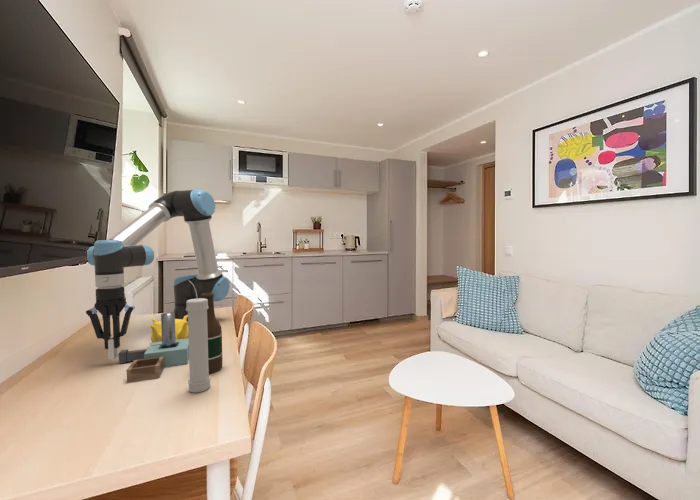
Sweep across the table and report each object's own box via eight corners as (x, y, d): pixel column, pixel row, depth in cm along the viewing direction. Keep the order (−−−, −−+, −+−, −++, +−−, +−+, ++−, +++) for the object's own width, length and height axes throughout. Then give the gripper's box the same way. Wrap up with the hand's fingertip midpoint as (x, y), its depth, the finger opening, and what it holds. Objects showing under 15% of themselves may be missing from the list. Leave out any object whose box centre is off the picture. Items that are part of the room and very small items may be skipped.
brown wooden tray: (134, 371, 97) (134, 360, 97) (164, 367, 100) (163, 356, 100) (126, 382, 90) (126, 370, 90) (159, 377, 93) (158, 365, 92)
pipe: (214, 384, 88) (211, 277, 87) (202, 395, 82) (198, 280, 81) (196, 383, 89) (192, 277, 88) (181, 394, 82) (178, 280, 81)
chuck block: (152, 356, 110) (152, 342, 110) (191, 351, 114) (190, 338, 114) (144, 369, 99) (143, 354, 98) (187, 363, 103) (186, 348, 103)
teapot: (151, 339, 130) (150, 315, 129) (189, 334, 136) (189, 311, 136) (147, 350, 117) (147, 324, 116) (190, 343, 123) (189, 319, 123)
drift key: (121, 360, 106) (121, 350, 106) (155, 356, 110) (155, 346, 109) (118, 363, 103) (118, 353, 103) (154, 358, 107) (153, 348, 107)
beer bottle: (197, 377, 93) (195, 296, 92) (193, 368, 99) (191, 292, 98) (225, 371, 97) (223, 293, 96) (220, 362, 103) (218, 290, 103)
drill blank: (163, 359, 107) (162, 312, 107) (177, 357, 109) (175, 311, 108) (161, 363, 103) (159, 315, 103) (175, 361, 105) (173, 314, 104)
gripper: (80, 290, 97) (83, 365, 98) (130, 287, 102) (132, 359, 103) (90, 286, 104) (93, 357, 105) (136, 284, 109) (139, 351, 110)
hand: (112, 357), depth 104 cm, fingers closed
